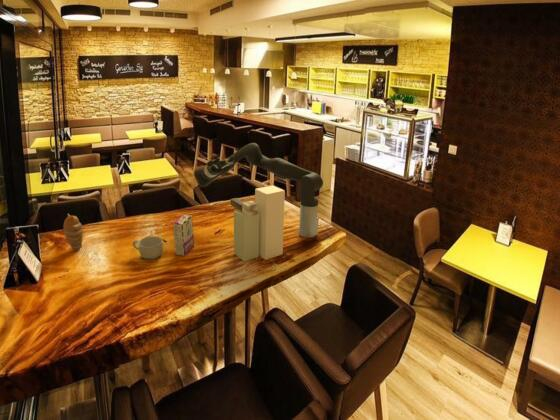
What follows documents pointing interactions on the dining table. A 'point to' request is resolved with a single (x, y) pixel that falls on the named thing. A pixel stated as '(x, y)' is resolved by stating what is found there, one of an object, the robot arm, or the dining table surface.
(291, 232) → the dining table surface
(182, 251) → the candy bar box
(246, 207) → the handle
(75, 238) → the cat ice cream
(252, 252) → the grey green tall block
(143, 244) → the teacup
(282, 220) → the tall stand
